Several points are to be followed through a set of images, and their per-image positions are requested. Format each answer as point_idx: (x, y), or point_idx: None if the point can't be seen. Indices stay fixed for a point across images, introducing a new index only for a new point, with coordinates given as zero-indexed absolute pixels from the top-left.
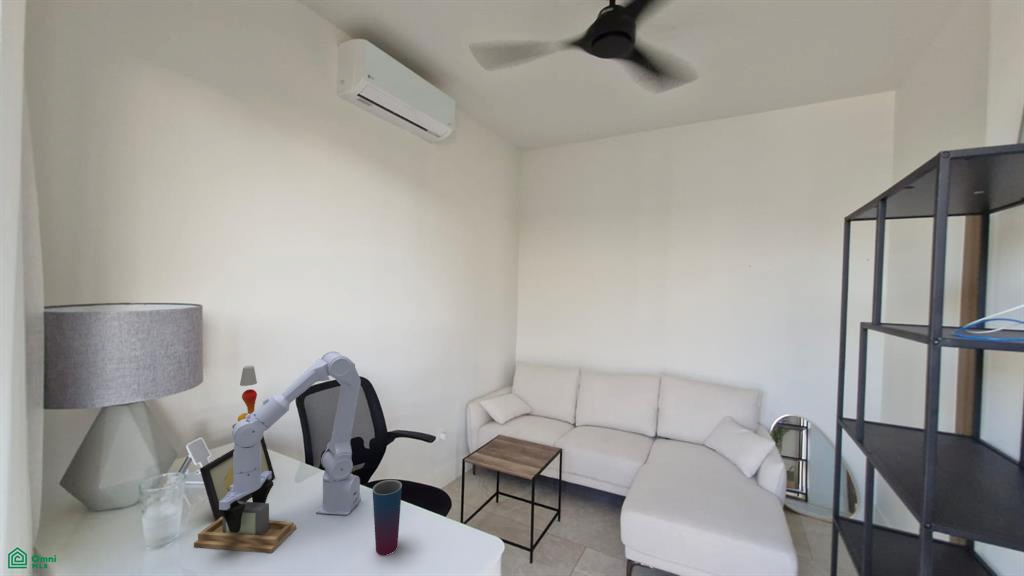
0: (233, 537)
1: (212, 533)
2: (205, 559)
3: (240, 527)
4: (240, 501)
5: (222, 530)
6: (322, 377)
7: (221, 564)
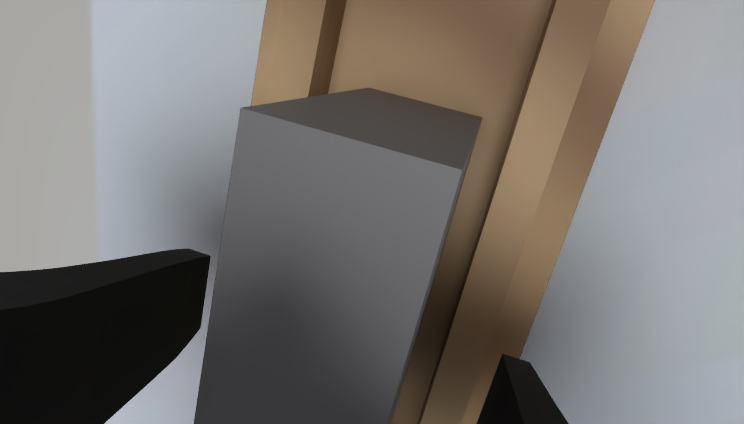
0: None
1: (301, 19)
2: (162, 90)
3: (179, 352)
4: (411, 326)
5: (353, 90)
6: None
7: (120, 227)
